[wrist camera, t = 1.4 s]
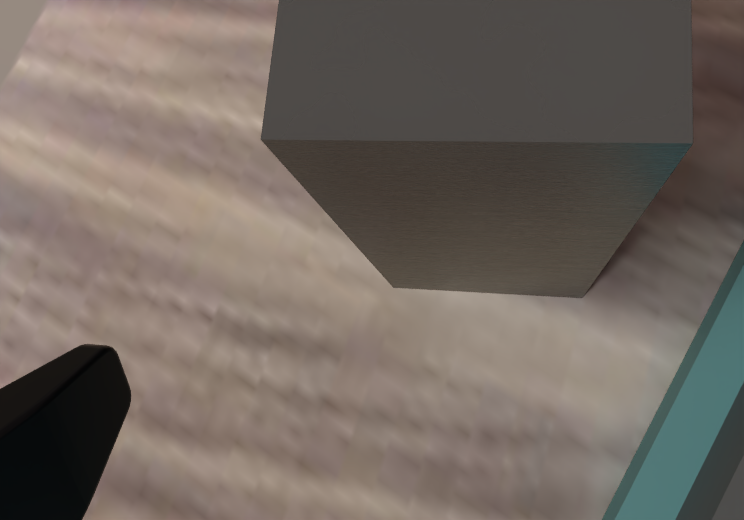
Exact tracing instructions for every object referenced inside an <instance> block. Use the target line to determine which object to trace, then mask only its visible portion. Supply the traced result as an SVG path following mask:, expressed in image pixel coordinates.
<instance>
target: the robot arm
mask: <svg viewBox="0 0 744 520" xmlns="http://www.w3.org/2000/svg"><path fill="white" fill-rule="evenodd" d="M130 402H131V390H130V386H129V384H128V381H127V378H126V375H125V373H124V370H123V367H122V364H121V362H120V359H119V356H118V354H117V352H116V351H115V350H114V349H113V348H112V347H110V346H106V345H94V344H84V345H80V346H78V347H76V348H74V349H73V350H71V351H69V352H67V353H65V354H63V355H62V356H60V357H58V358H56V359H54V360H52V361H51V362H49V363H47V364H45V365H43V366H41V367H40V368H38V369H36V370H34V371H32V372H30V373H28V374H27V375H25V376H23V377H21V378H19V379H17V380H16V381H14V382H12V383H10V384H8V385H6V386H5V387H3V388H1V389H0V520H82V519H83V517H84V515H85V513H86V511H87V509H88V506H89V504H90V502H91V500H92V498H93V495H94V493H95V491H96V488H97V486H98V483H99V481H100V478H101V476H102V474H103V471H104V469H105V466H106V464H107V461H108V459H109V456H110V454H111V451H112V449H113V447H114V444H115V442H116V439H117V437H118V434H119V432H120V429H121V427H122V425H123V422H124V420H125V417H126V415H127V412H128V410H129V407H130Z"/></svg>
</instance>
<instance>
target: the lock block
mask: <svg viewBox="0 0 744 520" xmlns="http://www.w3.org/2000/svg"><path fill="white" fill-rule="evenodd" d="M261 140H262V142H263V143H264V144H265V145H266V146H267V147H268V148H269V149H270V150H271V152H272V153H273V154H274V155H275V156H276V157H277V158H278V159H279V161H280V162H281V163H282V164H283V165H284V166H285V167H286V168H287V169H288V171H289V172H290V173H291V174H292V175H293V176H294V177H295V178H296V179H297V181H298V182H299V183H300V184H301V185H302V186H303V187H304V188H305V190H306V191H307V192H308V193H309V194H310V195H311V196H312V197H313V198H314V200H315V201H316V202H317V203H318V204H319V205H320V206H321V207H322V208H323V210H324V211H325V212H326V213H327V214H328V215H329V216H330V217H331V219H332V220H333V221H334V222H335V223H336V224H337V225H338V226H339V227H340V229H341V230H342V231H343V232H344V233H345V234H346V235H347V236H348V237H349V239H350V240H351V241H352V242H353V243H354V244H355V245H356V246H357V248H358V249H359V250H360V251H361V252H362V253H363V254H364V255H365V256H366V258H367V259H368V260H369V261H370V262H371V263H372V264H373V265H374V266H375V268H376V269H377V270H378V271H379V272H380V273H381V274H382V275H383V277H384V278H385V279H386V280H387V281H388V282H389V283H390V284H391V285H392V287H393V288H409V289H427V290H445V291H463V292H481V293H500V294H518V295H536V296H554V297H572V298H582V297H583V296H584V295H585V293H586V292H587V290H588V289H589V288H590V286H591V285H592V283H593V282H594V281H595V279H596V278H597V276H598V275H599V274H600V272H601V271H602V269H603V268H604V267H605V265H606V264H607V263H608V261H609V260H610V258H611V257H612V256H613V254H614V253H615V251H616V250H617V249H618V247H619V246H620V244H621V243H622V242H623V240H624V239H625V237H626V236H627V235H628V233H629V232H630V230H631V229H632V228H633V226H634V225H635V224H636V222H637V221H638V219H639V218H640V217H641V215H642V214H643V212H644V211H645V210H646V208H647V207H648V205H649V204H650V203H651V201H652V200H653V198H654V197H655V196H656V194H657V193H658V191H659V190H660V189H661V187H662V186H663V185H664V183H665V182H666V180H667V179H668V178H669V176H670V175H671V173H672V172H673V171H674V169H675V168H676V166H677V165H678V164H679V162H680V161H681V159H682V158H683V157H684V155H685V154H686V152H687V151H688V150H689V148H690V147H691V146H692V144H693V101H692V20H691V0H279V4H278V12H277V20H276V27H275V35H274V43H273V50H272V58H271V65H270V73H269V81H268V88H267V96H266V104H265V111H264V119H263V126H262V134H261Z"/></svg>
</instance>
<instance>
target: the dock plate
mask: <svg viewBox="0 0 744 520" xmlns="http://www.w3.org/2000/svg"><path fill="white" fill-rule="evenodd" d="M602 520H744V241H743V243H742V245H741V247H740V249H739V251H738V253H737V255H736V257H735V259H734V261H733V263H732V265H731V267H730V269H729V271H728V273H727V275H726V277H725V278H724V280H723V282H722V284H721V286H720V288H719V290H718V292H717V294H716V296H715V298H714V300H713V302H712V304H711V306H710V308H709V310H708V312H707V314H706V316H705V318H704V320H703V322H702V324H701V326H700V328H699V330H698V332H697V334H696V336H695V338H694V340H693V342H692V343H691V345H690V347H689V349H688V351H687V353H686V355H685V357H684V359H683V361H682V363H681V365H680V367H679V369H678V371H677V373H676V375H675V377H674V379H673V381H672V383H671V385H670V387H669V389H668V391H667V393H666V395H665V397H664V399H663V401H662V403H661V405H660V407H659V408H658V410H657V412H656V414H655V416H654V418H653V420H652V422H651V424H650V426H649V428H648V430H647V432H646V434H645V436H644V438H643V440H642V442H641V444H640V446H639V448H638V450H637V452H636V454H635V456H634V458H633V460H632V462H631V464H630V466H629V468H628V470H627V472H626V473H625V475H624V477H623V479H622V481H621V483H620V485H619V487H618V489H617V491H616V493H615V495H614V497H613V499H612V501H611V503H610V505H609V507H608V509H607V511H606V513H605V515H604V517H603V519H602Z"/></svg>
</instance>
